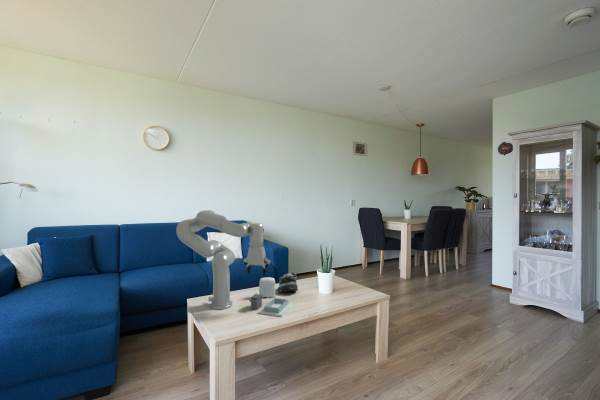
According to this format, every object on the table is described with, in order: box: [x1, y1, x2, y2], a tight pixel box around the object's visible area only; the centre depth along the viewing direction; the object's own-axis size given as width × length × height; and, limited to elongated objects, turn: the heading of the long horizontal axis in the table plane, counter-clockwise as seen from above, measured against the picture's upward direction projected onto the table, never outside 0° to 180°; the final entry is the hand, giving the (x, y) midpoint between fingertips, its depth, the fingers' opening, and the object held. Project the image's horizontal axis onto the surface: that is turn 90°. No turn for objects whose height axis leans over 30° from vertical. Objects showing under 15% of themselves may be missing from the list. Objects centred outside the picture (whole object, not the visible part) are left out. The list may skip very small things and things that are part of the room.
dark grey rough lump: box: [277, 272, 299, 294], centre depth 197 cm, size 15×12×14 cm
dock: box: [258, 297, 294, 318], centre depth 166 cm, size 14×18×4 cm
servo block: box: [248, 292, 264, 311], centre depth 168 cm, size 4×10×8 cm, turn 161°
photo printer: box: [258, 276, 276, 298], centre depth 186 cm, size 10×4×12 cm, turn 98°
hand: (256, 274), depth 168 cm, fingers open, 9 cm apart
